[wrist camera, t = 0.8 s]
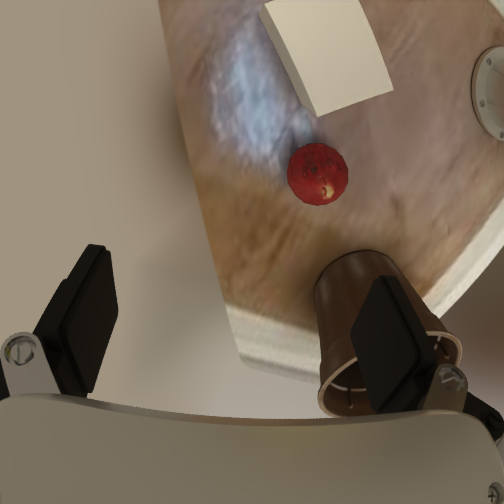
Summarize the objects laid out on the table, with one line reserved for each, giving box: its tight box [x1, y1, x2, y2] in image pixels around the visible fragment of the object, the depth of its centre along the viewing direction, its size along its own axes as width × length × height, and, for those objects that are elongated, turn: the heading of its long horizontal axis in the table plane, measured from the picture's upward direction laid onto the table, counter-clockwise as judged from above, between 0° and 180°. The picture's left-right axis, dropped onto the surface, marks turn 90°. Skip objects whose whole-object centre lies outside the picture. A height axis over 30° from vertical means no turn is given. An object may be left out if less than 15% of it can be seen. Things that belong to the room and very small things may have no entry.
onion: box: [287, 143, 348, 206], centre depth 29 cm, size 6×6×8 cm
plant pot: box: [314, 251, 462, 418], centre depth 36 cm, size 16×16×16 cm
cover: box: [259, 0, 394, 117], centre depth 23 cm, size 7×10×7 cm
